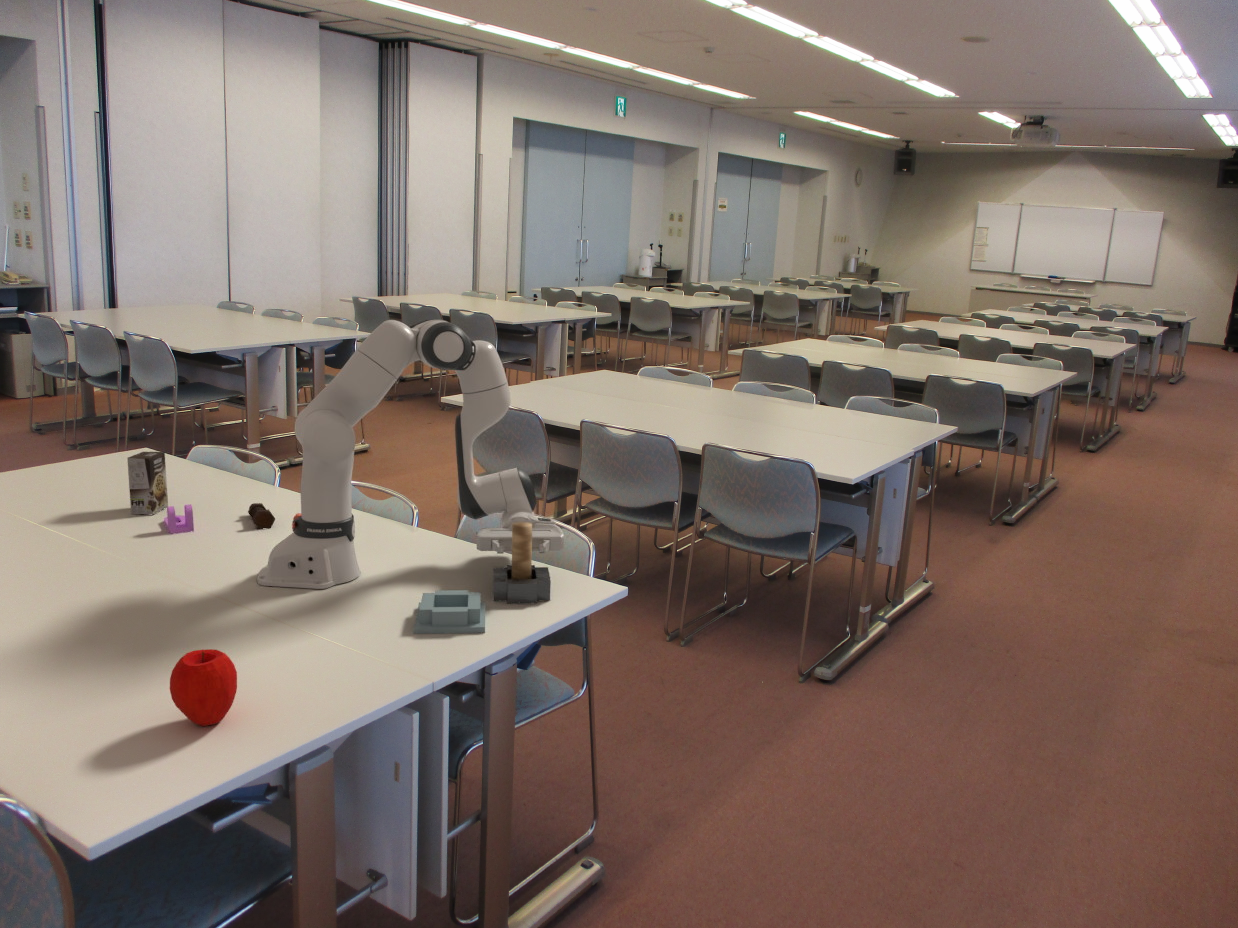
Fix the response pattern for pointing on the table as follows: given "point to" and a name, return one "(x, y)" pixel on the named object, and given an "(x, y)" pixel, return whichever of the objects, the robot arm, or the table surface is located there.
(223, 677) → the apple
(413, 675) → the table surface
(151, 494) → the cookie box
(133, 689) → the table surface
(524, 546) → the oak axle
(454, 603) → the teal cradle
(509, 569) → the steel bore block
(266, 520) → the bolt
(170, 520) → the bracket
